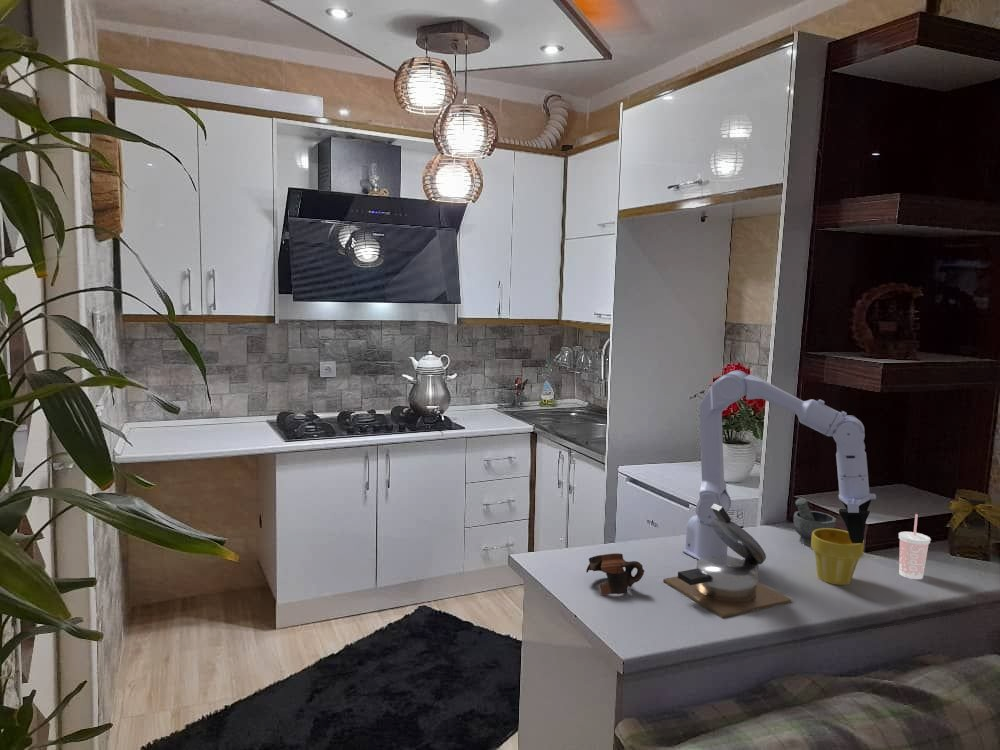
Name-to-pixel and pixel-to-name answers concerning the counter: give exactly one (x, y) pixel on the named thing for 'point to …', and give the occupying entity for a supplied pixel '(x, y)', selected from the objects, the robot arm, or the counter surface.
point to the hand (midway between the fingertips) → (858, 537)
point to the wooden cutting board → (726, 586)
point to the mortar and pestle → (810, 521)
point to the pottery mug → (615, 572)
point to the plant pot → (835, 555)
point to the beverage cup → (913, 553)
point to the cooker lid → (736, 537)
